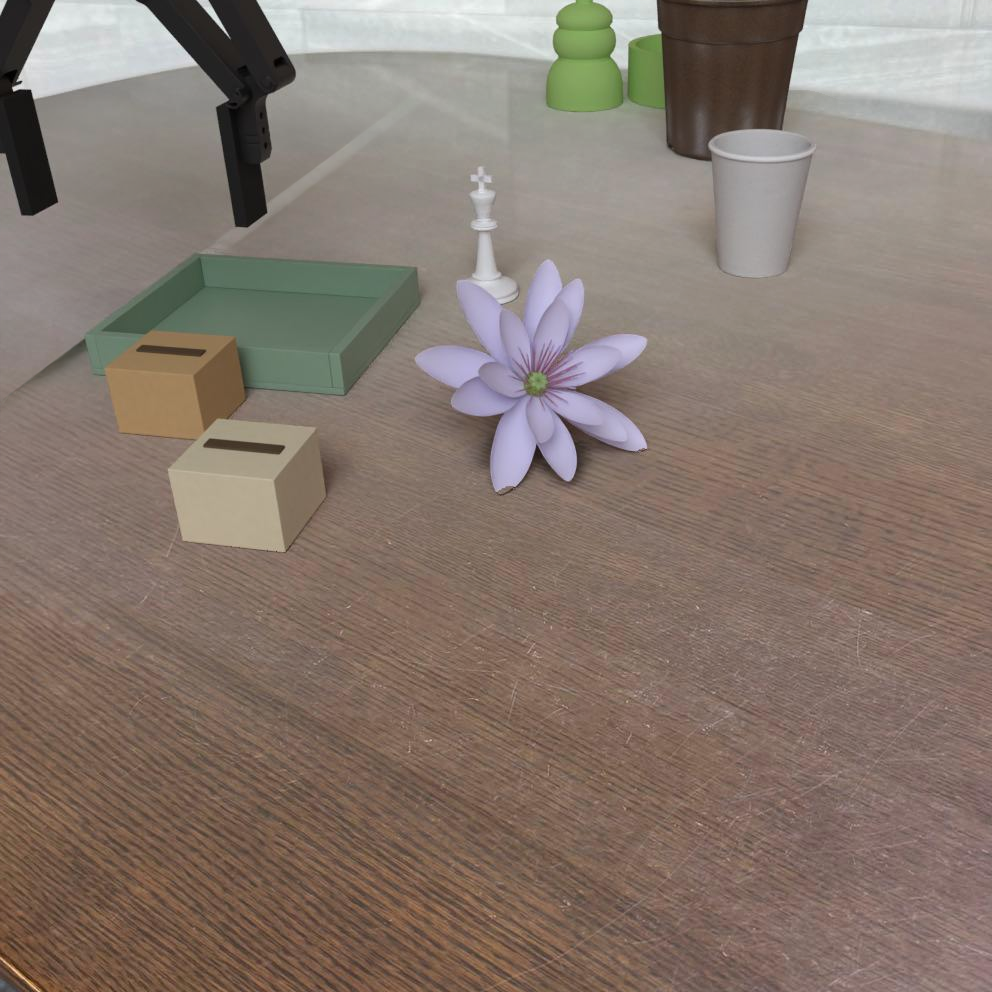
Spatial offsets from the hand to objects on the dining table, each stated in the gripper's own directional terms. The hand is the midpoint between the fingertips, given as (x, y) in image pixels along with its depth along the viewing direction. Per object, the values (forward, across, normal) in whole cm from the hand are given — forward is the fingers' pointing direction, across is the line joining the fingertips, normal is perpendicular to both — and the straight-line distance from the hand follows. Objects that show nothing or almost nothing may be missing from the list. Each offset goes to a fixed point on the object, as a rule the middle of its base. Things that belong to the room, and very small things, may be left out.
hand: (144, 215), depth 70 cm
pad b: (+14, +1, -1) cm, 14 cm away
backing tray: (+14, +1, -14) cm, 19 cm away
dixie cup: (+14, -33, -35) cm, 50 cm away
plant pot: (+14, -27, -71) cm, 77 cm away
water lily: (+14, -23, 0) cm, 27 cm away
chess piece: (+14, -13, -25) cm, 31 cm away
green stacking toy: (+14, -15, -92) cm, 95 cm away
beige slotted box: (+14, -9, +10) cm, 19 cm away
